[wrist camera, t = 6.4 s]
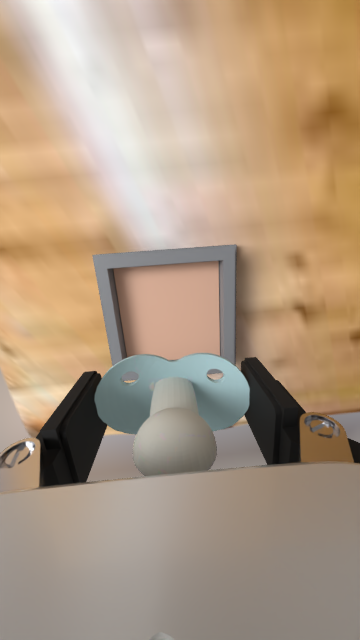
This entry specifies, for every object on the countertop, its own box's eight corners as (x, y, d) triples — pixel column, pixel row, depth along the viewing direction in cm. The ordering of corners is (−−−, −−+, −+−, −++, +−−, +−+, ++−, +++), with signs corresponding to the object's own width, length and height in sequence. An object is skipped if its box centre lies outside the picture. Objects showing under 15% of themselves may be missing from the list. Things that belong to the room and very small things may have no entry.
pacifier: (231, 426, 14) (238, 341, 12) (279, 564, 8) (307, 436, 6) (116, 432, 13) (104, 345, 11) (73, 579, 7) (31, 449, 5)
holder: (233, 244, 24) (242, 243, 21) (233, 361, 29) (240, 373, 26) (95, 255, 24) (84, 254, 21) (116, 370, 29) (109, 384, 26)
